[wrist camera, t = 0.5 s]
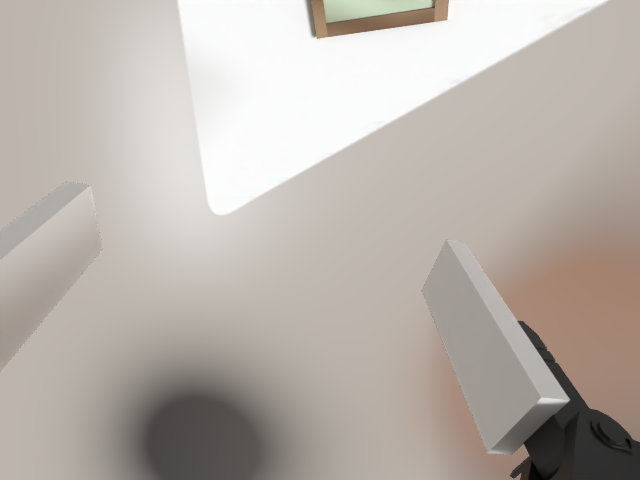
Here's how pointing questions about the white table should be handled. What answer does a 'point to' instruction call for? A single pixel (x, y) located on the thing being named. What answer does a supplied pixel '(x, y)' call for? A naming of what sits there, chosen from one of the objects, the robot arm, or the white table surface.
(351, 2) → the wooden frame
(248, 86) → the white table surface
